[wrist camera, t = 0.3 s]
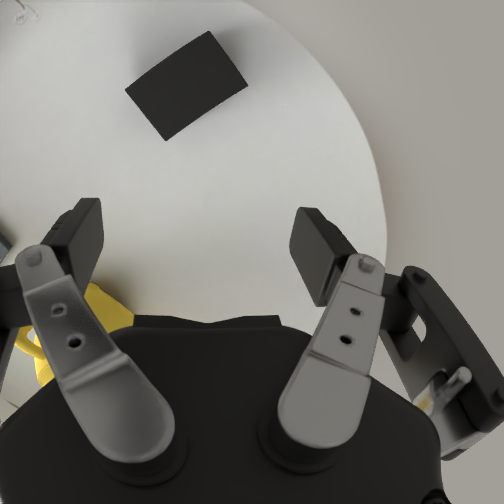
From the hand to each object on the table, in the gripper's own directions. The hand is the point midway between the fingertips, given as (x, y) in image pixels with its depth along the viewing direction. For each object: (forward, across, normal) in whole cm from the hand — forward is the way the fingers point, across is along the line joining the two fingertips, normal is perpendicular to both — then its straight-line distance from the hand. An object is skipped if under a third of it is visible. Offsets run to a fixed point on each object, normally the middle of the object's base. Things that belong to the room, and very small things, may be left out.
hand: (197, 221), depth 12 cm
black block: (+15, +1, -5) cm, 16 cm away
